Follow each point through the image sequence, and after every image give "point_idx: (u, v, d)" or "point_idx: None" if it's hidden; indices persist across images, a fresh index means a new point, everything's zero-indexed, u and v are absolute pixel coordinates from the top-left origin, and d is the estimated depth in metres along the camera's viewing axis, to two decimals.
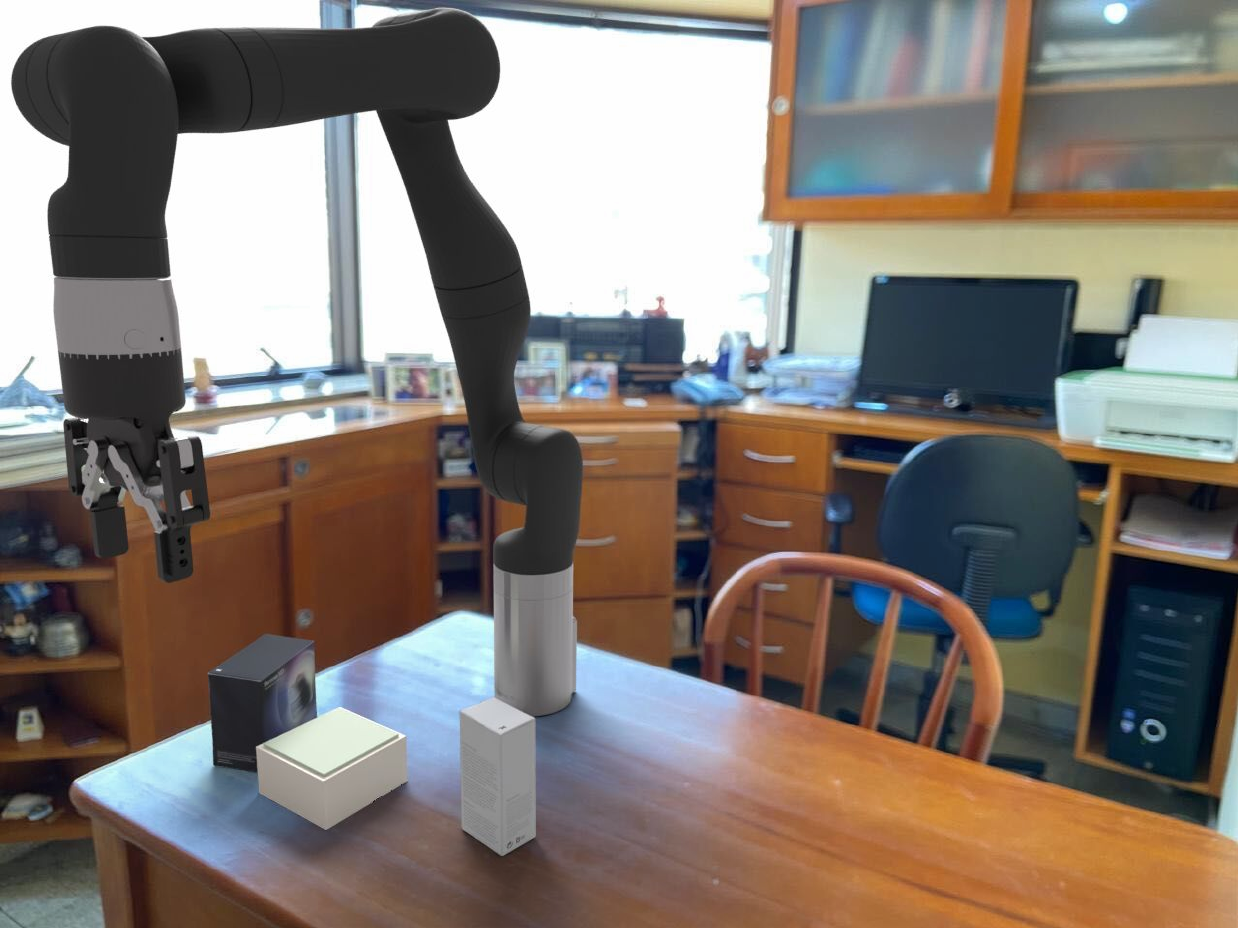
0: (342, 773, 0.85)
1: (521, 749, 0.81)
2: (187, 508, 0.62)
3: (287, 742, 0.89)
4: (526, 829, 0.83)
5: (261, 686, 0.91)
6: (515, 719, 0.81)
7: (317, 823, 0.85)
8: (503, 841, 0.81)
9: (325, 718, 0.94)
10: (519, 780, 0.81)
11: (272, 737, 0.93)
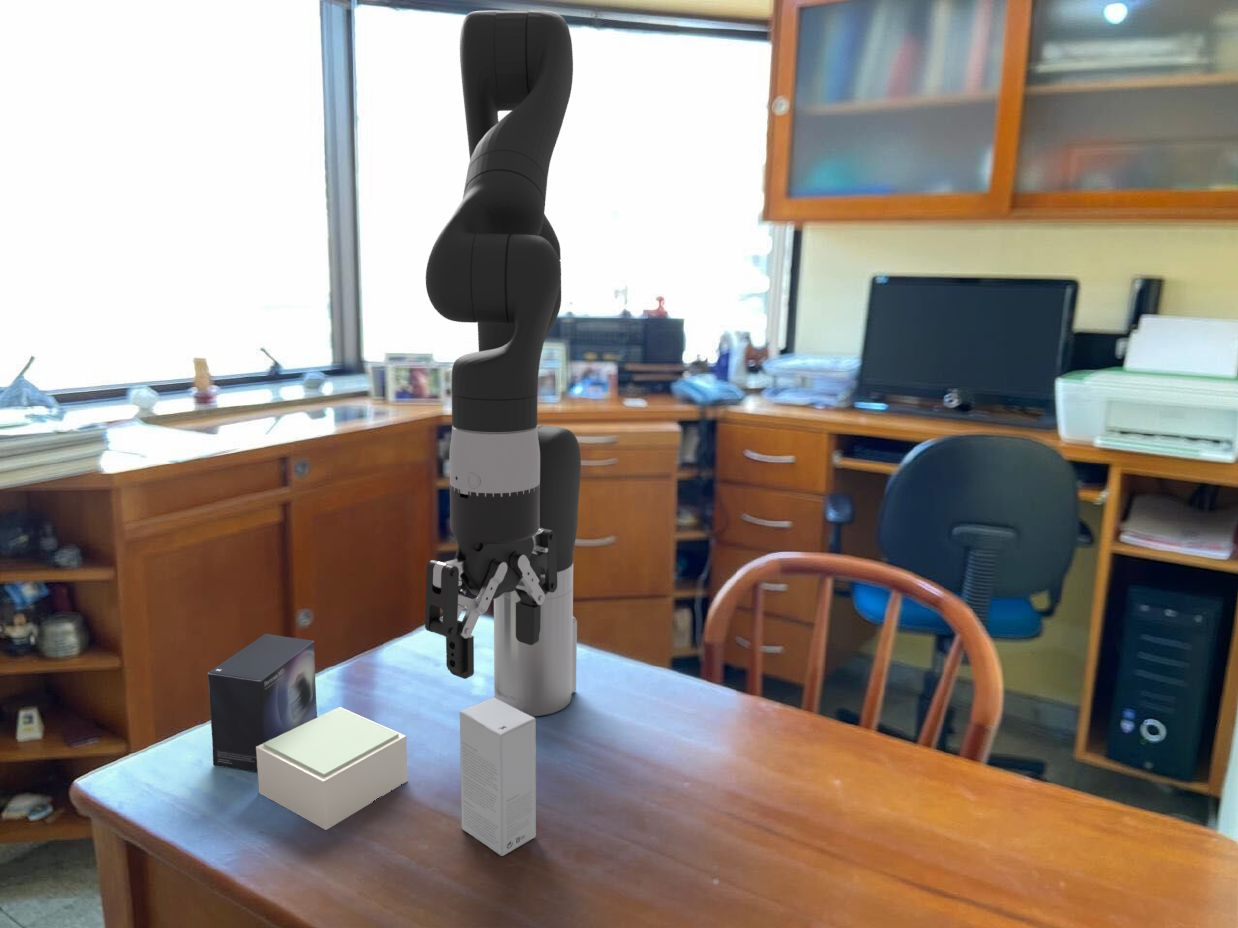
0: (342, 773, 0.85)
1: (522, 749, 0.81)
2: (545, 577, 0.85)
3: (287, 742, 0.89)
4: (526, 829, 0.83)
5: (261, 686, 0.91)
6: (515, 719, 0.81)
7: (317, 823, 0.85)
8: (503, 841, 0.81)
9: (325, 718, 0.94)
10: (519, 780, 0.81)
11: (272, 737, 0.93)
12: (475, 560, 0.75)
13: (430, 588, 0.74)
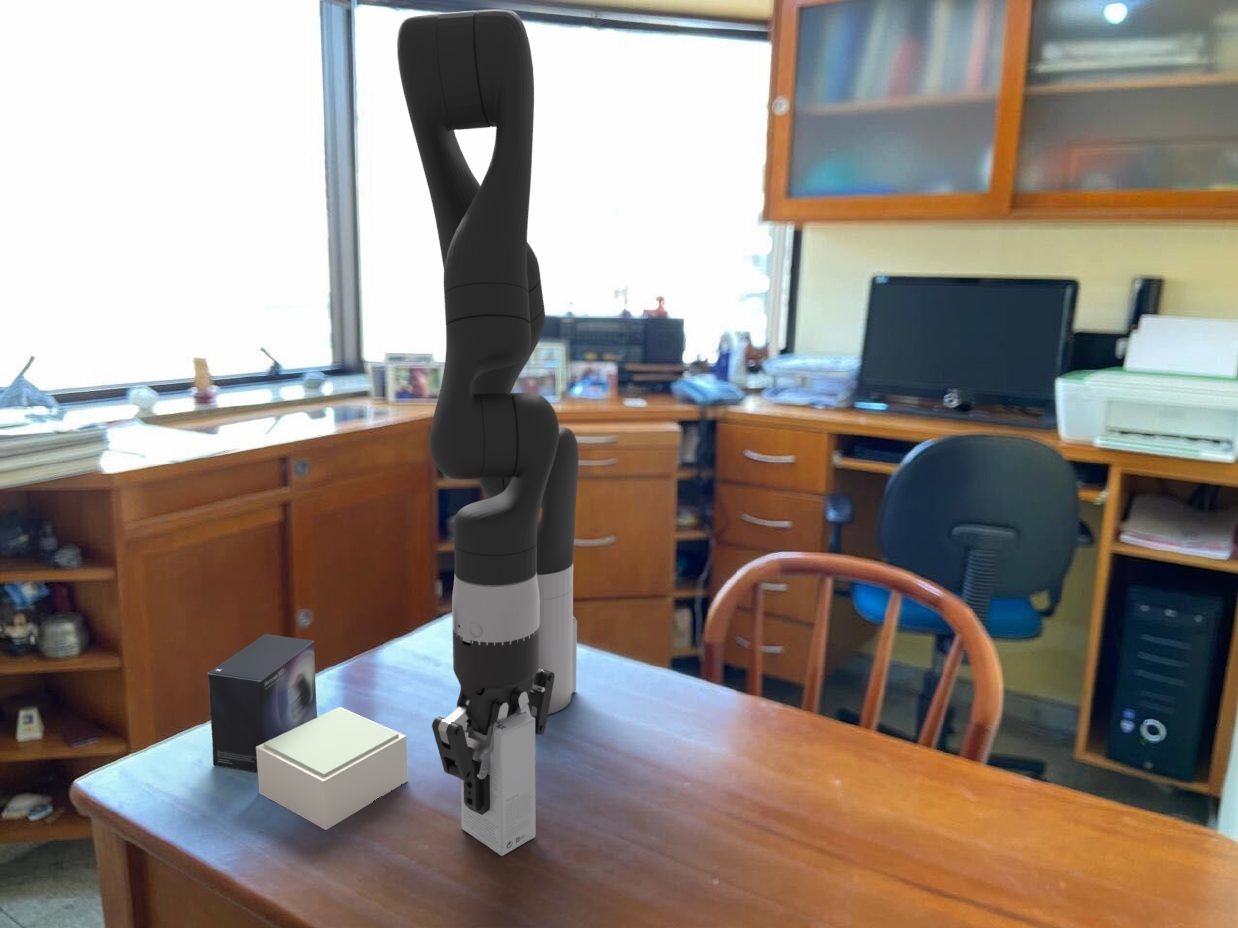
0: (342, 773, 0.85)
1: (521, 749, 0.81)
2: None
3: (287, 742, 0.89)
4: (526, 829, 0.83)
5: (261, 686, 0.91)
6: (515, 718, 0.81)
7: (317, 823, 0.85)
8: (503, 840, 0.81)
9: (325, 718, 0.94)
10: (518, 780, 0.81)
11: (272, 737, 0.93)
12: (476, 707, 0.78)
13: (440, 743, 0.77)
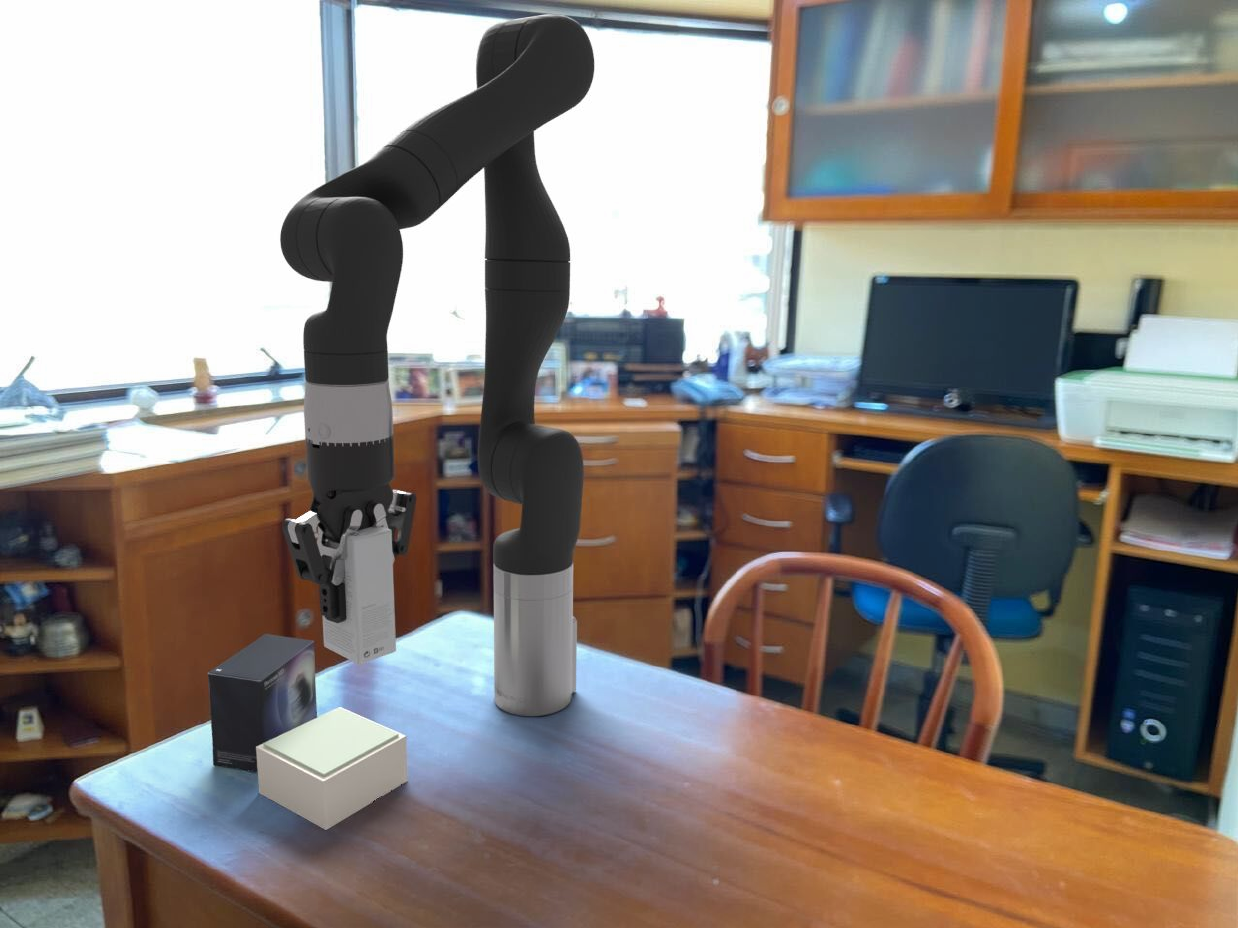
0: (342, 773, 0.85)
1: (377, 559, 0.82)
2: None
3: (287, 742, 0.89)
4: (385, 641, 0.84)
5: (261, 686, 0.91)
6: (371, 530, 0.83)
7: (317, 823, 0.85)
8: (360, 649, 0.82)
9: (325, 718, 0.94)
10: (375, 590, 0.83)
11: (272, 737, 0.93)
12: (327, 510, 0.79)
13: (291, 545, 0.79)
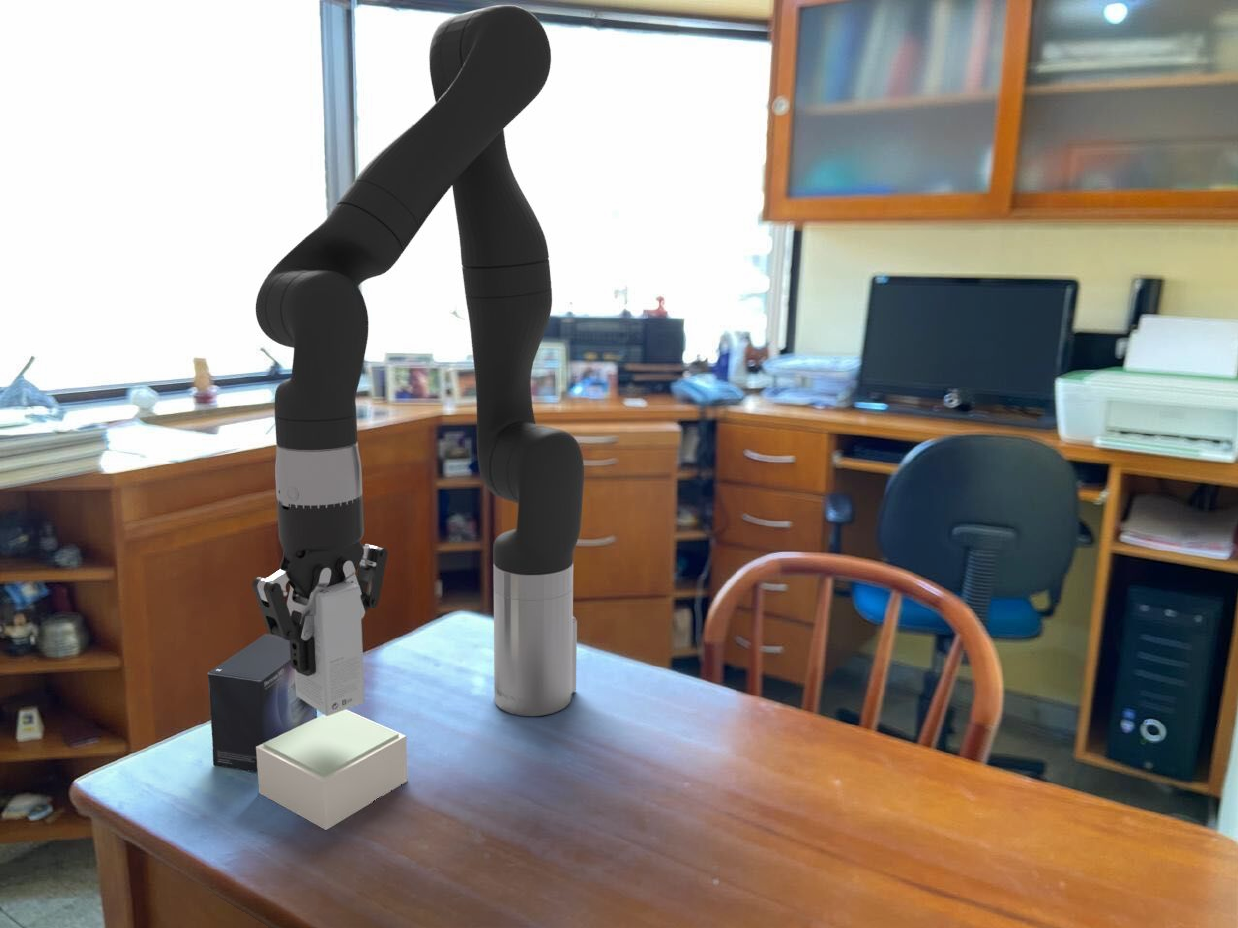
0: (342, 773, 0.85)
1: (345, 614, 0.85)
2: (367, 593, 0.91)
3: (287, 742, 0.89)
4: (353, 693, 0.87)
5: (261, 686, 0.91)
6: (340, 586, 0.86)
7: (317, 823, 0.85)
8: (328, 701, 0.85)
9: (325, 718, 0.94)
10: (343, 644, 0.85)
11: (272, 737, 0.93)
12: (296, 568, 0.82)
13: (261, 602, 0.82)
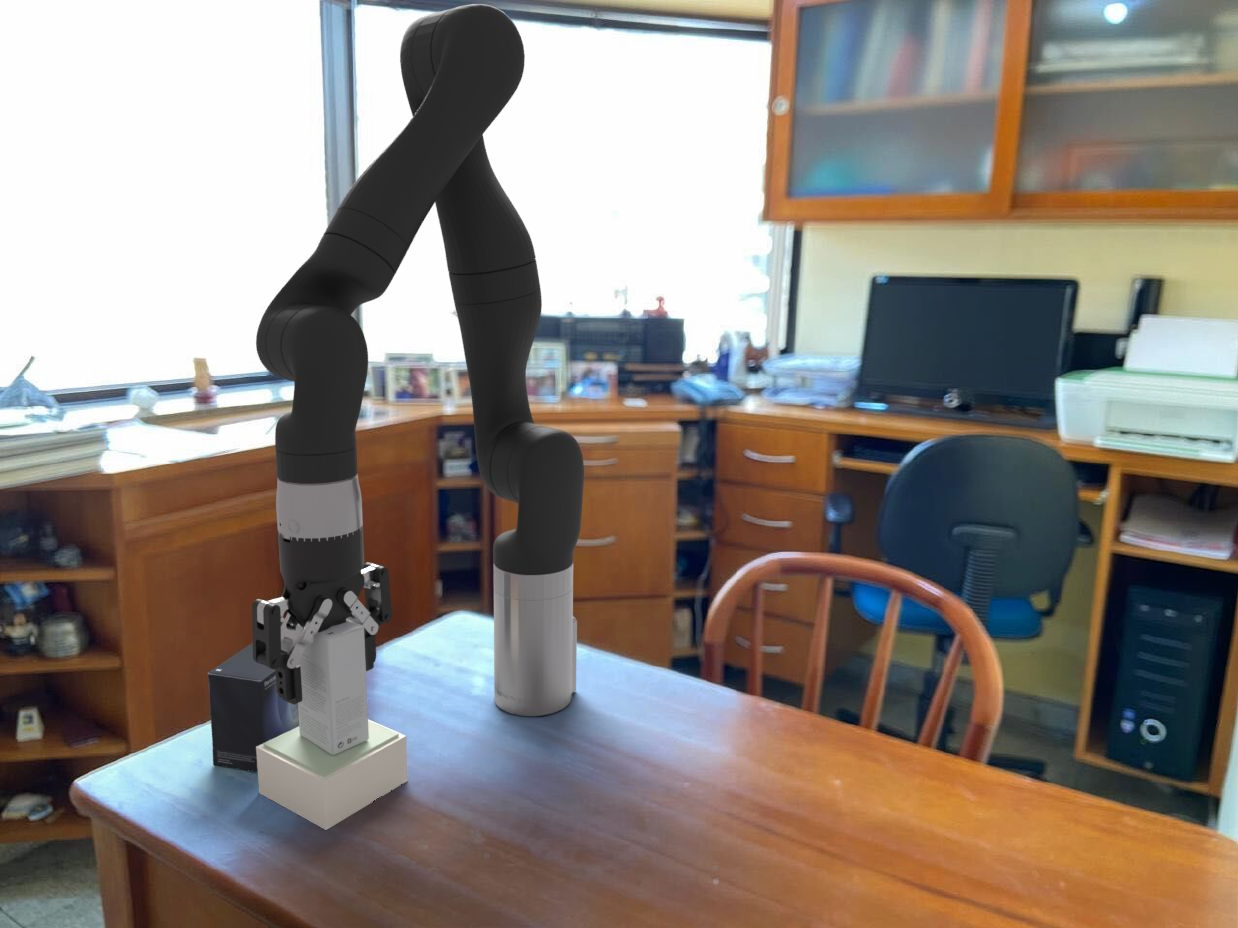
0: (342, 773, 0.85)
1: (350, 654, 0.86)
2: None
3: (287, 742, 0.89)
4: (358, 731, 0.88)
5: (261, 686, 0.91)
6: (344, 626, 0.87)
7: (317, 823, 0.85)
8: (334, 740, 0.86)
9: None
10: (348, 684, 0.87)
11: (272, 737, 0.93)
12: (298, 598, 0.83)
13: (255, 624, 0.81)
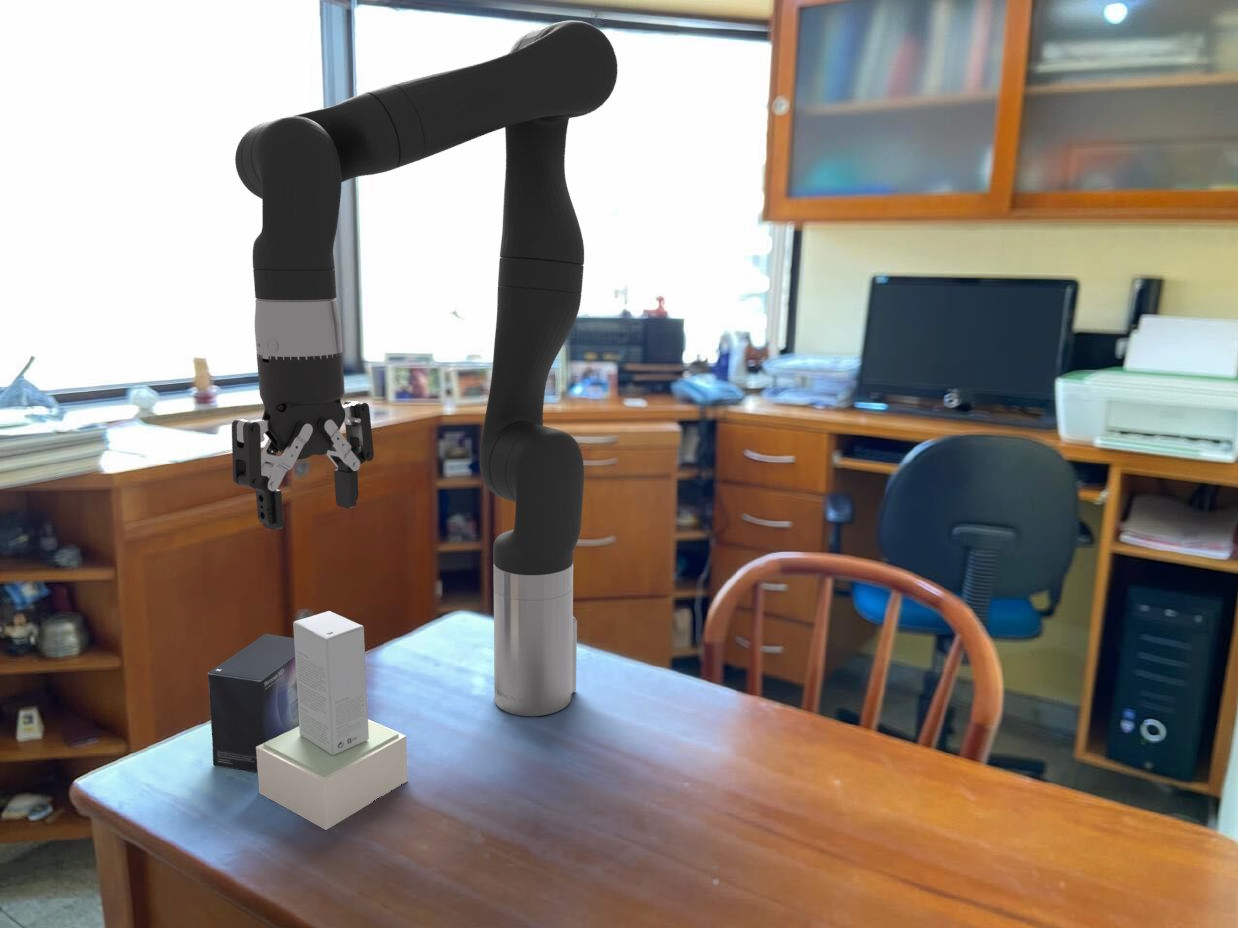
0: (342, 773, 0.85)
1: (350, 654, 0.86)
2: None
3: (287, 742, 0.89)
4: (358, 731, 0.88)
5: (261, 686, 0.91)
6: (344, 626, 0.87)
7: (317, 823, 0.85)
8: (334, 740, 0.86)
9: None
10: (348, 684, 0.87)
11: (272, 737, 0.93)
12: (278, 420, 0.83)
13: (235, 444, 0.81)
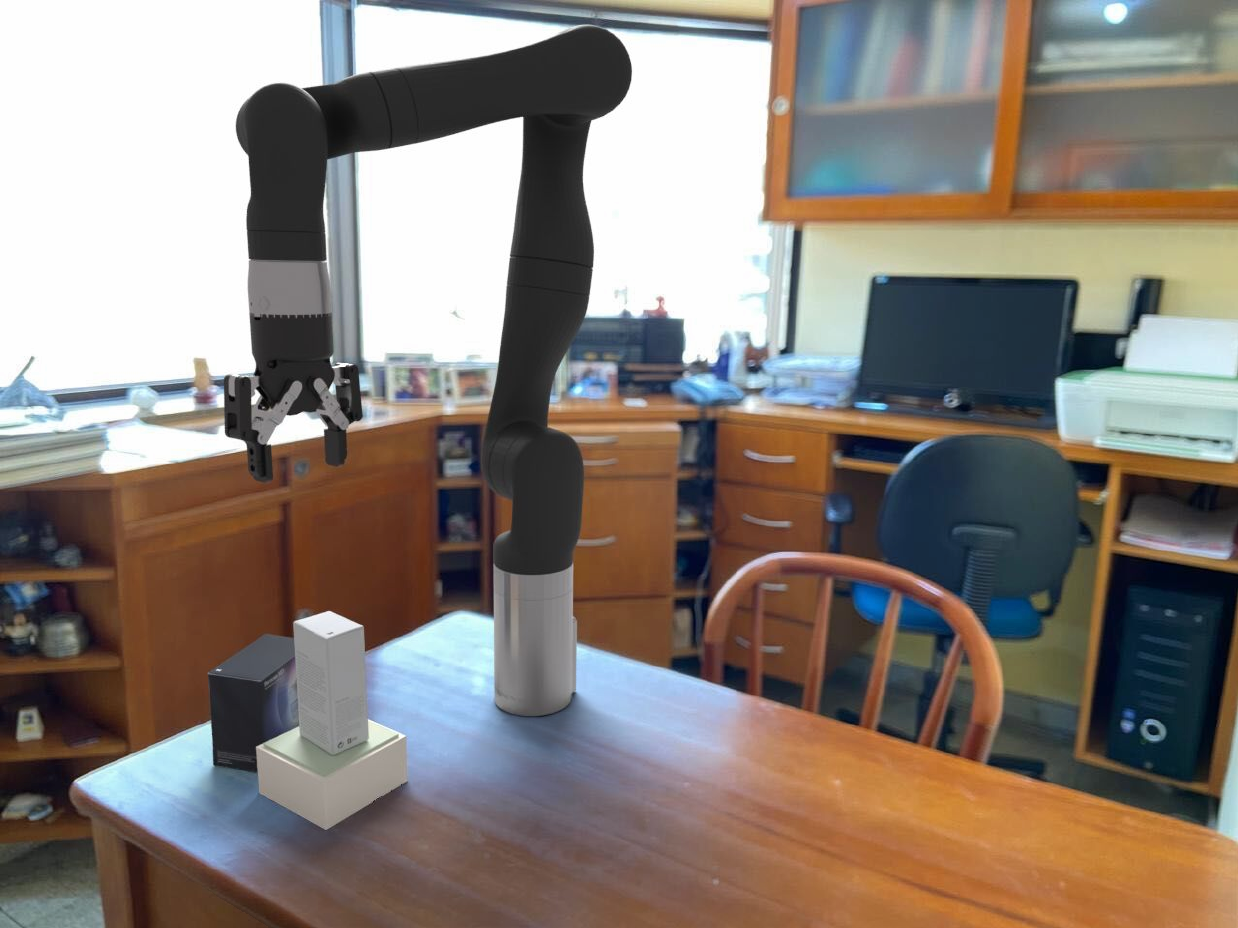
0: (342, 773, 0.85)
1: (350, 654, 0.86)
2: None
3: (287, 742, 0.89)
4: (358, 731, 0.88)
5: (261, 686, 0.91)
6: (344, 626, 0.87)
7: (317, 823, 0.85)
8: (334, 740, 0.86)
9: None
10: (348, 684, 0.87)
11: (272, 737, 0.93)
12: (269, 376, 0.86)
13: (227, 397, 0.85)
